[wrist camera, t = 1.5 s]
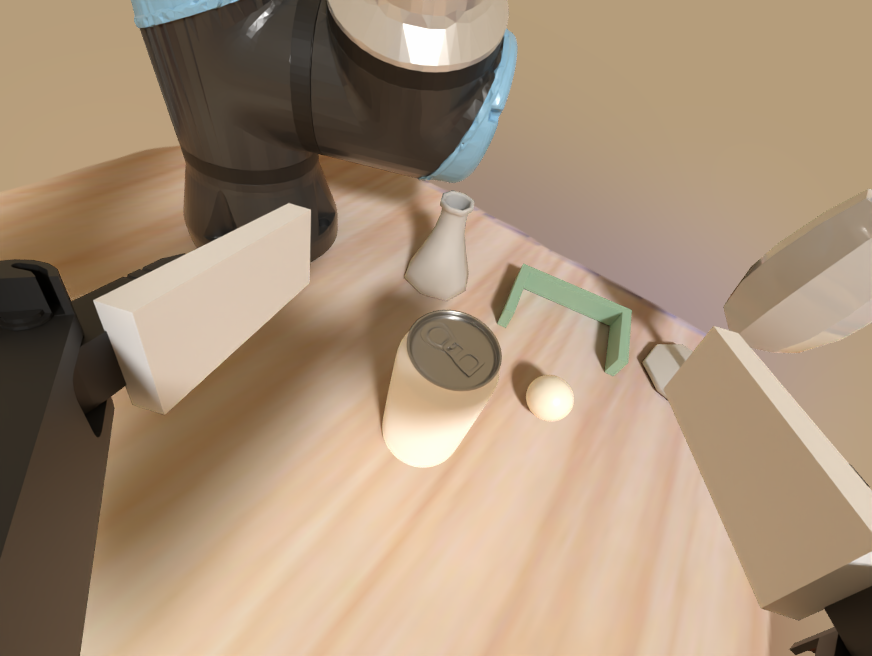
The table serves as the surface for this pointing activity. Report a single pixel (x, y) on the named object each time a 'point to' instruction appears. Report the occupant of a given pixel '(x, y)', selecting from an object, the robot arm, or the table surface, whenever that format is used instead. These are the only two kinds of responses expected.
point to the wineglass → (797, 290)
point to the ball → (549, 398)
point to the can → (439, 386)
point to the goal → (578, 302)
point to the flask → (443, 252)
